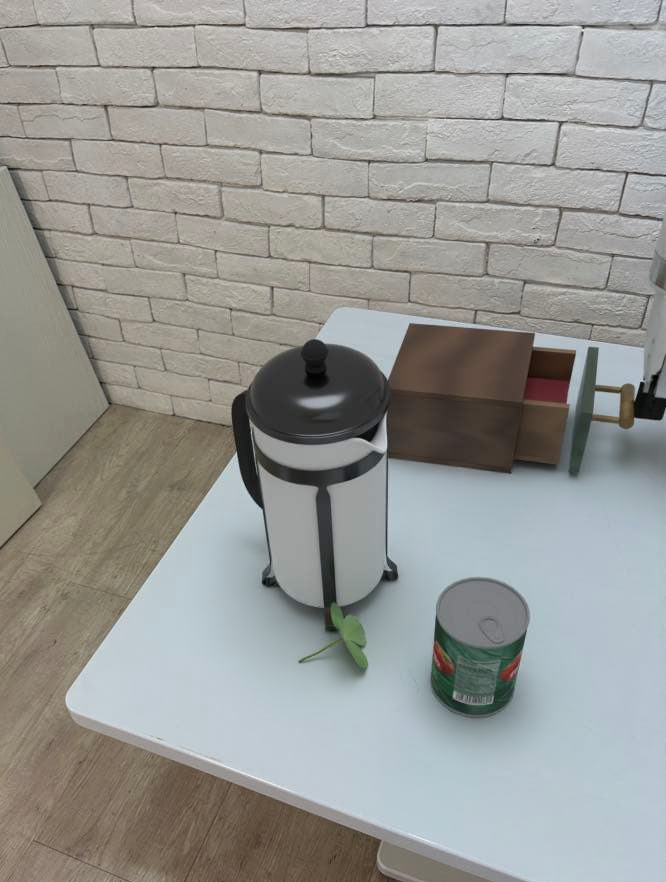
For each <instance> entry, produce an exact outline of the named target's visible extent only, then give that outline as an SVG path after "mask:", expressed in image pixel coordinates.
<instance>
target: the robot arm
mask: <svg viewBox="0 0 666 882" xmlns="http://www.w3.org/2000/svg"><path fill="white" fill-rule="evenodd" d="M647 282H648V285H649V286H650V287H651V289H653V290H654V291H655V293H654V297H653V300H652V304H651V307H650V311H649V315H648V319H647V323H646V329H645V335H644V343H643V375H642V381H640V382H639V385H638V389H637V391H636V394H635V409H634V419H640V420H649V421H662V420H663V419H664V415H665V413H666V210H665V211H664V215H663V219H662V223H661V226H660V230H659V234H658V237H657V241H656V245H655V249H654V253H653V256H652V260H651V265H650V267H649V272H648V276H647Z"/></svg>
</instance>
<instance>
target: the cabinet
mask: <svg viewBox="0 0 666 882" xmlns="http://www.w3.org/2000/svg"><path fill="white" fill-rule="evenodd" d="M405 331H406V332H405V334H404V336H403V339H402V342H401V345H400V347H399V350H398V352H397V355H396V358H395V360H394V363H393V366H392V368H391V371H390V374H389V376H388V378H387V380H388V382H389V385H390V390H391V399H390V405H389V408H388V410H387V419H388V459H396V460H404V461H412V462H421V463H427V464H435V465H436V464H437V465H443V466H450V467H459V468H464V469H465V468H466V469H474V470H481V471H491V472H496V473H497V472H498V473H505V474H512V472H513V467H514V461H515V459H514V453H515V447H516V441H517V434H518V428H519V421H520V415H521V409H522V402H523V397H524V392H525V386H526V381H527V375H528V370H529V365H530V359H531V354H532V348H533V347H534V342H535V338H536V333H535V332H527V331H526V332H525V331H517V330H515V331H514V330H501V329H490V328H479V327H462V326H450V325H438V324H428V323H427V324H426V323H413V322H409V323H408V326H407V329H406V330H405Z"/></svg>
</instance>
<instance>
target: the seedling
mask: <svg viewBox="0 0 666 882" xmlns="http://www.w3.org/2000/svg"><path fill="white" fill-rule="evenodd" d="M331 617H332V621H333V624H334V626H335V627H336V628H337V629H338V630H337V631H338V632H339V633H340V635H341V637H340V639H337V640H335V641H333V642H331V643H330V644H328V645H326V646H325V647H323V648H322V649H319V650H318V651H316V652H314V653H312V654H310V655H308V656H305V657H303V658H301V659H299V660H298V663H302V662H304V661H306V660H308V659H310V658H312V657H315V656H317V655H319V654H321V653H322V652H324V651H326V650H327V649H329V648H330V647H332V646H334V645H336V644H339V643H340V642H342V641H344V643H345V645H346V647H347V649H348V651H349V653H350V654H351V656H352V658H353V659H354V661H355V663H356V664H357V665H358V666H359V667H360V668H363V669H367V667H368V666H369V662H368V658H367V656H366V654H365V652H364V651H363V650H362V648H360V647H359V646H358V645H360V646H363V647H365V646H366V645H367V639H366V632H365V629H364V627H363V625H362V623H361V621H360V620H359V619H358V618H357V617H356V616H355V615H353V614H348V615H346V616H345V617H344V615H343V611H342V609H341V607H339V606H338V605H337V604H336V603H335V602H333V603H332V605H331Z"/></svg>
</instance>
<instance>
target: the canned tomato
mask: <svg viewBox="0 0 666 882" xmlns="http://www.w3.org/2000/svg"><path fill="white" fill-rule="evenodd" d="M530 621H531V612H530V608H529V605H528V602H527V601H526V599H525V597H524V596H523V595H522V594H521V593H520V592H519V591H518V590H517V589H516V588H514V587H513V586H511V585H510V584H508V583H506V582H504V581H502V580H498V579H495V578H490V577H483V576H475V577H474V576H473V577H466V578H461V579H459V580H457V581H454V582H452V583H451V584H449V585H447V586H446V587H445V588H444V589H443V590H442V592H441V593H440V595H439V596H438V598H437V601H436V604H435V622H434V632H433V645H432V655H431V656H432V658H431V668H430V669H431V670H430V675H429V682H430V688H431V690H432V693H433V695H434V696H435V698H436V699H437V701H438V702H439V703H440V704H441V705H442V706H443V707H445V708H446V709H448V710H449V711H451V712H453V713H455V714H457V715H460V716H464V717H469V718H487V717H491V716H493V715H495V714H498V713H500V712H501V711H502V710H504V709H505V708H506V707H507V706H508V705H509V704H510V702H511V701H512V699H513V697H514V693H515V687H516V683H517V678H518V674H519V669H520V665H521V661H522V656H523V651H524V646H525V641H526V638H527V637H526V636H527V633H528V628H529V625H530Z"/></svg>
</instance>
